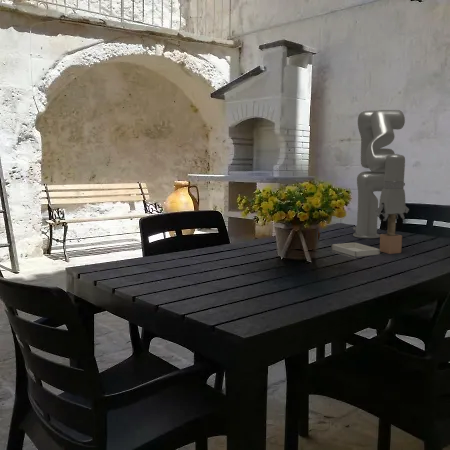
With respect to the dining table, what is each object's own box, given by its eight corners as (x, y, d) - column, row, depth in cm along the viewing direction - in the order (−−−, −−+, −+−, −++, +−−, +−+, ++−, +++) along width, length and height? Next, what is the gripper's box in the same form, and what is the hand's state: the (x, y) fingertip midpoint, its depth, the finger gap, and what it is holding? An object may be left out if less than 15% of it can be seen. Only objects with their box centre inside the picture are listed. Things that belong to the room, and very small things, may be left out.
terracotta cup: (379, 253, 213) (380, 234, 211) (390, 252, 215) (391, 233, 214) (389, 256, 207) (390, 236, 206) (401, 255, 210) (402, 235, 208)
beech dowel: (384, 251, 212) (386, 212, 209) (390, 250, 213) (392, 212, 210) (389, 252, 209) (392, 213, 207) (395, 252, 210) (397, 213, 208)
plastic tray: (331, 251, 216) (331, 244, 216) (354, 249, 221) (354, 242, 221) (355, 259, 202) (355, 251, 201) (379, 256, 207) (380, 249, 206)
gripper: (403, 184, 214) (401, 226, 216) (370, 185, 207) (368, 229, 209) (417, 186, 207) (414, 229, 210) (383, 187, 200) (380, 232, 203)
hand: (391, 229), depth 210 cm, fingers open, 7 cm apart
